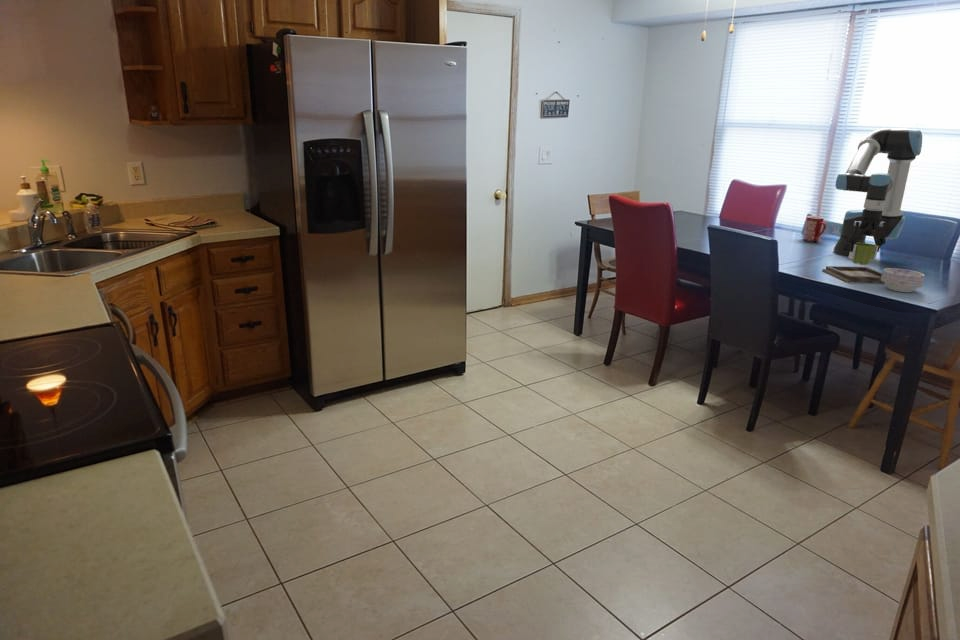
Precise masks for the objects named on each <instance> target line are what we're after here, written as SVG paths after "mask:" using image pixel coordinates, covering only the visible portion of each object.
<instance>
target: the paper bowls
mask: <svg viewBox="0 0 960 640" xmlns="http://www.w3.org/2000/svg"><path fill="white" fill-rule="evenodd" d="M881 273H882V276H881V281H883V282H884V283H883V284H884V286H885V288H887V289H888V290H891V291H893V292H899V293H913V292H914V291H916V289H917V288H921V287H923V285H924V280H925V277H926V276H925V274H924V273H922V272H919V271H916V270H911V269H905V268H896V267H892V268H891V267H887V268H886V267H884V268H883V269H882V272H881Z"/></svg>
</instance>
